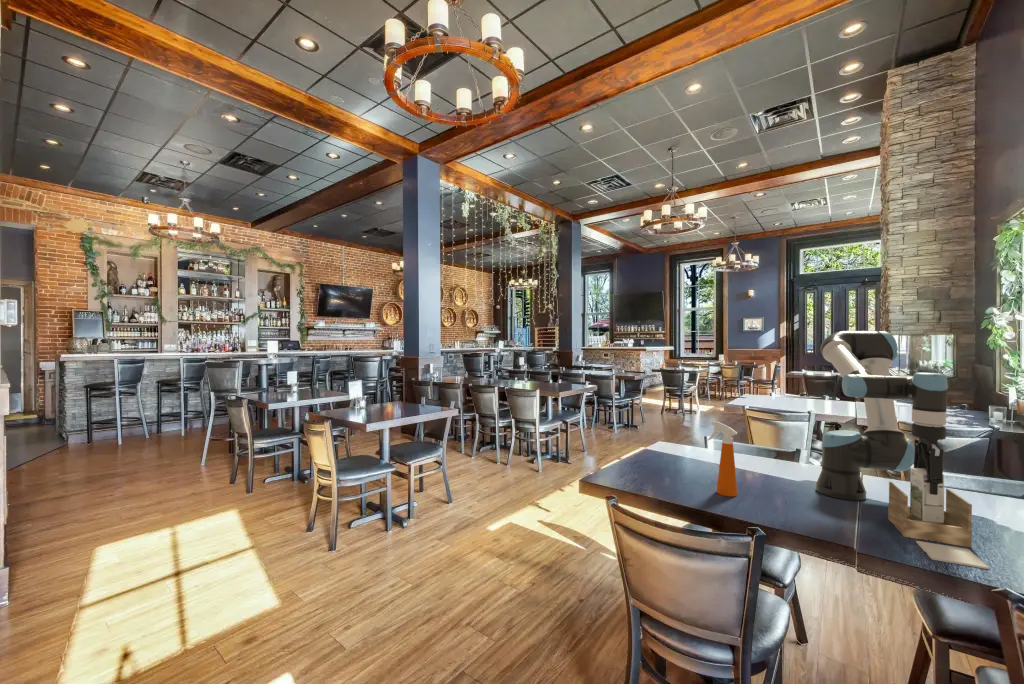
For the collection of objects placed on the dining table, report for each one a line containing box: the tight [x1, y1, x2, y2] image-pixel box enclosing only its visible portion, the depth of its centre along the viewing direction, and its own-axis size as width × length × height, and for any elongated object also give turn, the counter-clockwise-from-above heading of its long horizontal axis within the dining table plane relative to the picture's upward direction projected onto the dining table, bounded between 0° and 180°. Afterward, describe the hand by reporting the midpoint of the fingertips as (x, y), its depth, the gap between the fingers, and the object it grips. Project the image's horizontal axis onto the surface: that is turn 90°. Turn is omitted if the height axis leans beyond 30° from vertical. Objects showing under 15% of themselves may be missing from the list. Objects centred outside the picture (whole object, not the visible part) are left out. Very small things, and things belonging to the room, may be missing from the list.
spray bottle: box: [706, 420, 738, 498], centre depth 166 cm, size 7×11×26 cm, turn 51°
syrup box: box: [909, 467, 945, 523], centre depth 133 cm, size 6×6×14 cm
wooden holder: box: [887, 481, 973, 548], centre depth 133 cm, size 15×15×12 cm
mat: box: [915, 540, 990, 570], centre depth 119 cm, size 11×11×1 cm
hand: (926, 500), depth 133 cm, fingers closed on syrup box, 7 cm apart
